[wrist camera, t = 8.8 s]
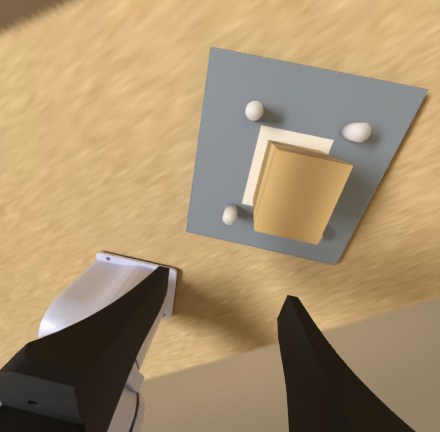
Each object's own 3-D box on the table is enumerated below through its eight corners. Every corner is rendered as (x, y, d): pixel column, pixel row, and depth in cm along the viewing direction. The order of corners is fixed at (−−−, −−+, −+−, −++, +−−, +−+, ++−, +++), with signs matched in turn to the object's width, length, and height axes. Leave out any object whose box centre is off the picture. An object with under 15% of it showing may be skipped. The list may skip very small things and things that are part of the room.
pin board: (188, 227, 22) (180, 242, 19) (212, 50, 16) (205, 36, 13) (332, 259, 22) (344, 279, 19) (417, 91, 15) (454, 85, 13)
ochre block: (252, 198, 19) (254, 230, 13) (268, 139, 17) (278, 149, 11) (297, 208, 19) (317, 244, 13) (319, 150, 17) (353, 165, 11)
